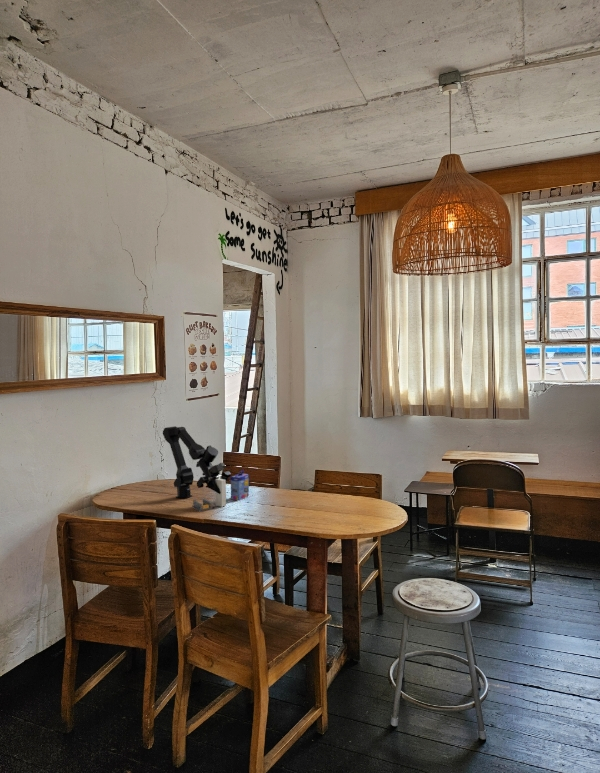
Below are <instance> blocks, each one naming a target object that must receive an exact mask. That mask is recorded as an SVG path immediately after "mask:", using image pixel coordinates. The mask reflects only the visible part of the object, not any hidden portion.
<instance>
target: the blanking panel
mask: <svg viewBox="0 0 600 773" xmlns="http://www.w3.org/2000/svg"><path fill="white" fill-rule="evenodd" d="M215 482H216V484H217V486H218V488H219V490H220V492H221V493H220V494H219V493H217V492H215V491H214V492H215V506H217V507H221V508H223V506H224V507H226V506H227V486H226V485H227V484H226V482H227V481H226V480H224V479H215Z"/></svg>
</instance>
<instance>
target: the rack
mask: <svg viewBox="0 0 600 773" xmlns="http://www.w3.org/2000/svg"><path fill="white" fill-rule="evenodd" d="M192 502H193V505H192V508H193V509H194V510H197V511H198V512H203V511H209V510H213V509H214V508H213V504H212V501H210V500H208V499H206V498H202V503H201V502H199V501H197V500H196V499H194V500H193V501H192Z"/></svg>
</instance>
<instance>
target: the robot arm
mask: <svg viewBox="0 0 600 773" xmlns="http://www.w3.org/2000/svg"><path fill="white" fill-rule="evenodd" d="M186 429H187V428H186V427H184V426H167V427H164V428H163V430H162V435H163V438H164V440H165V441H166V442H167V443H168V444H169V446H170V449H171V454H172V456H173V459H174V462H175V466H176V473H175V476H176V478H175V480H174V482H173V485H174V487H175V488H176V489H177V490H176V491H177V492H176V493H177V494H176V496H175V497H176V498H175V499H181V498H182V499H183V500H185V499H187V498H190V497H193V495H191V494H192V493H191V488H190V487H191V486H192V485H193V482H194V472H193V470H192V469H193V468H192V467H189V466H187V463H186V460H185V457H184V453H183V450H182V447H181V443H180V440H181V441H182V442H183V444H184V445H185V447H186V448H187V449H188V455H189V456H190V458H191V459H192V460H193V461H196V460H197V461H196V464H195V465H196V466H195V467H196V468H200V470H201V471H202V476H200V478H199V479H198V480H197V482H196V487H197V488H198V489H200V488H201V489H202V488H203V487H204V486H205V485H204V484H206V486H205V488H208V489H210V490H212V491H214V492H217V493H219V494H220V493H221V492H220V490H219V488H218V486H217V484H216V482H215V479H224V480H226V482H227V481H228V480H229V479H230V478H231V477H232V476H233V475H232V473H231V472H230V471H229V470H226V471H224V469H226V464H225V463H224V462H220V463H217V464H214V465H213V464H212V463H213V462H214V461H215V459H216V458H217V456H218V455H219V450H218V449H217V448H215V447H213V446H212V445H207V446H206V448H205V447H204V446H203V445H201V444H199V443H197V442H196V441H195V440H194V438H193V437H192V436H191V435H190V433H188V431H187V430H186ZM222 471H223V472H222ZM221 472H222V473H221ZM182 499H181V500H182Z"/></svg>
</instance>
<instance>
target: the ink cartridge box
mask: <svg viewBox="0 0 600 773" xmlns="http://www.w3.org/2000/svg"><path fill="white" fill-rule="evenodd" d="M244 472H245V470H240V471H239V472H238V474H235V475H231V476H230V500H231V499H232V501H237V500H239V501H241V499H242V500H244V499H246V498H245V497H247V498H249V497H248V496H250V492H249V491H250V488H249V487H250V486H249V484H250V483H249V482H250V478H249V474H248V473H244ZM243 498H244V499H243Z"/></svg>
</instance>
